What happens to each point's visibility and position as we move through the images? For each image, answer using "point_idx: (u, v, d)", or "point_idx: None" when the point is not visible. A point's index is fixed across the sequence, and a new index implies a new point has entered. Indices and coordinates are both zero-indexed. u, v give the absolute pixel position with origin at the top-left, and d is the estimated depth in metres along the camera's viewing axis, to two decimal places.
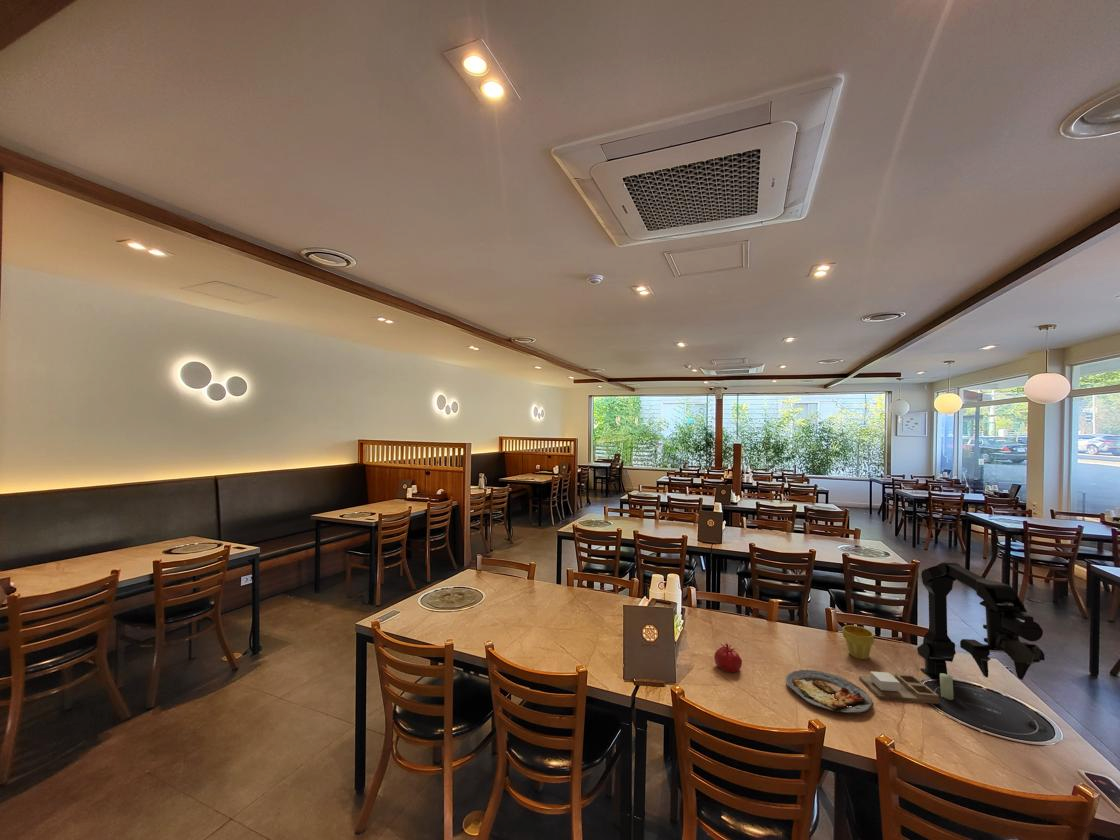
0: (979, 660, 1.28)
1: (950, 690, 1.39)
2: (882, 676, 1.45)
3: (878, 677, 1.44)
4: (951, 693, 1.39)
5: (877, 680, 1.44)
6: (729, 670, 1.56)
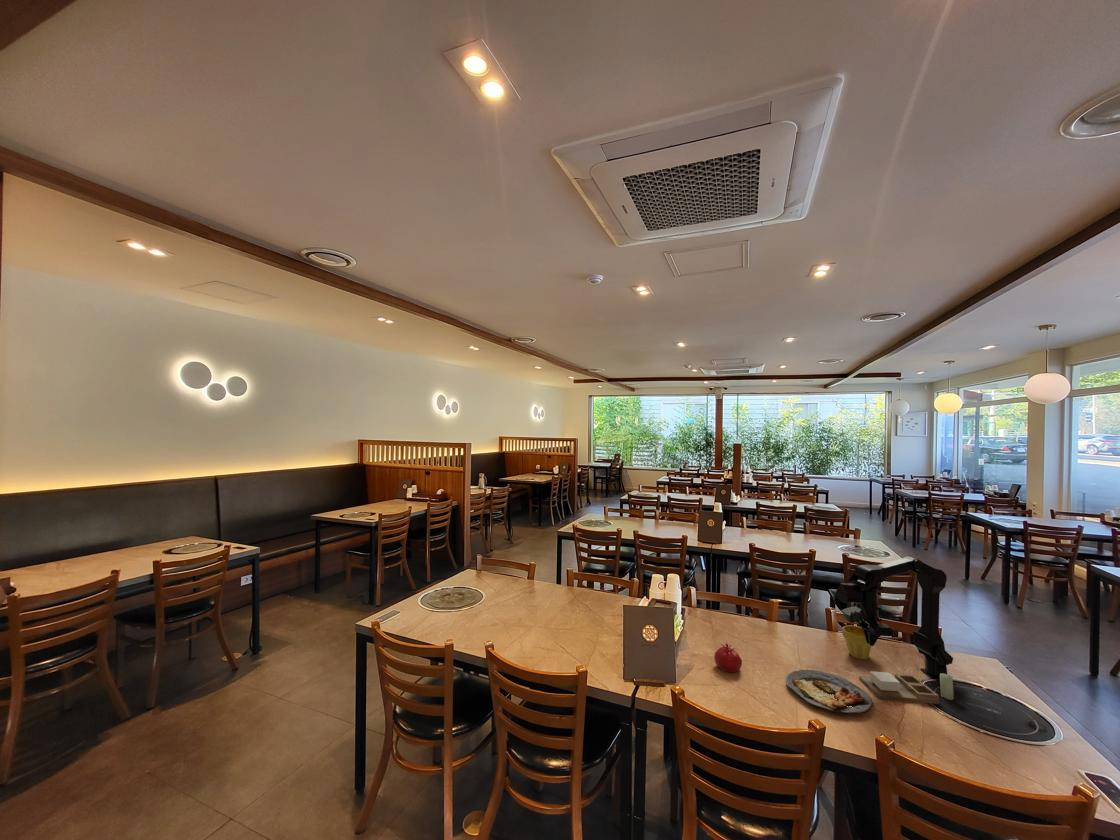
0: None
1: (950, 690, 1.39)
2: (882, 676, 1.45)
3: (878, 677, 1.44)
4: (951, 693, 1.39)
5: (877, 680, 1.44)
6: (729, 670, 1.56)
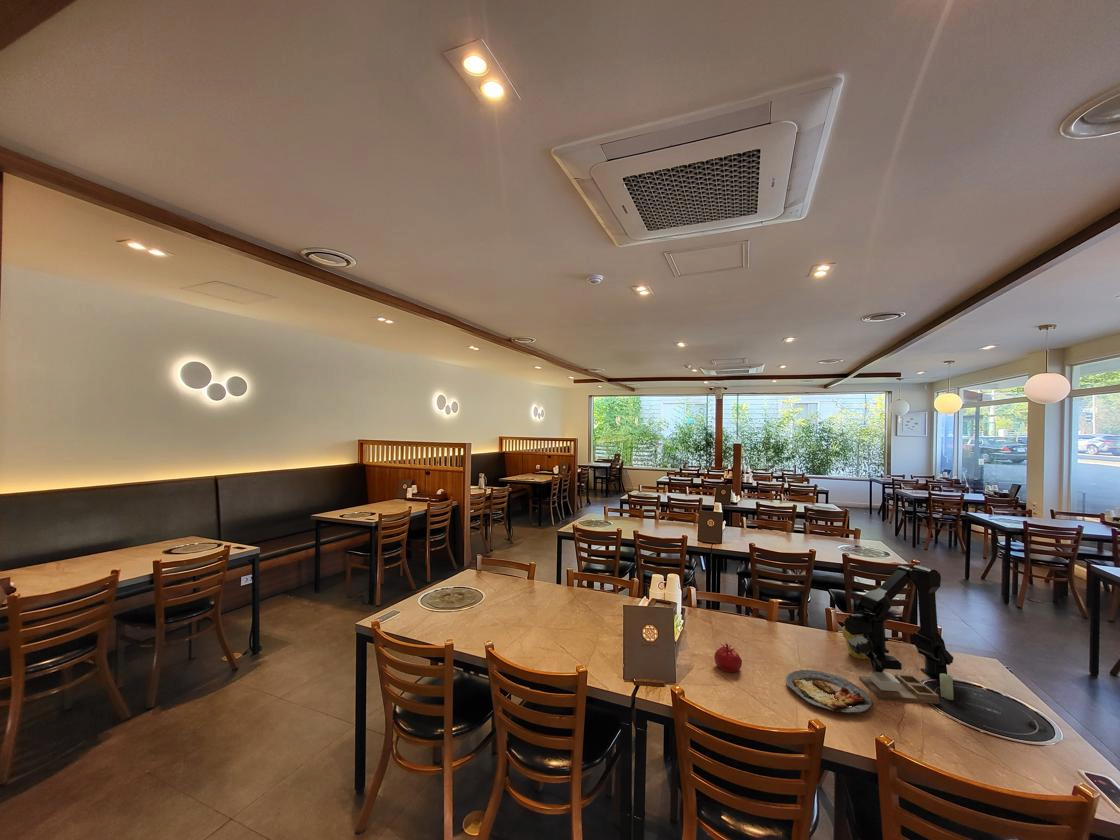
0: None
1: (950, 690, 1.39)
2: (882, 676, 1.45)
3: (878, 677, 1.44)
4: (951, 693, 1.39)
5: (877, 680, 1.44)
6: (729, 670, 1.56)
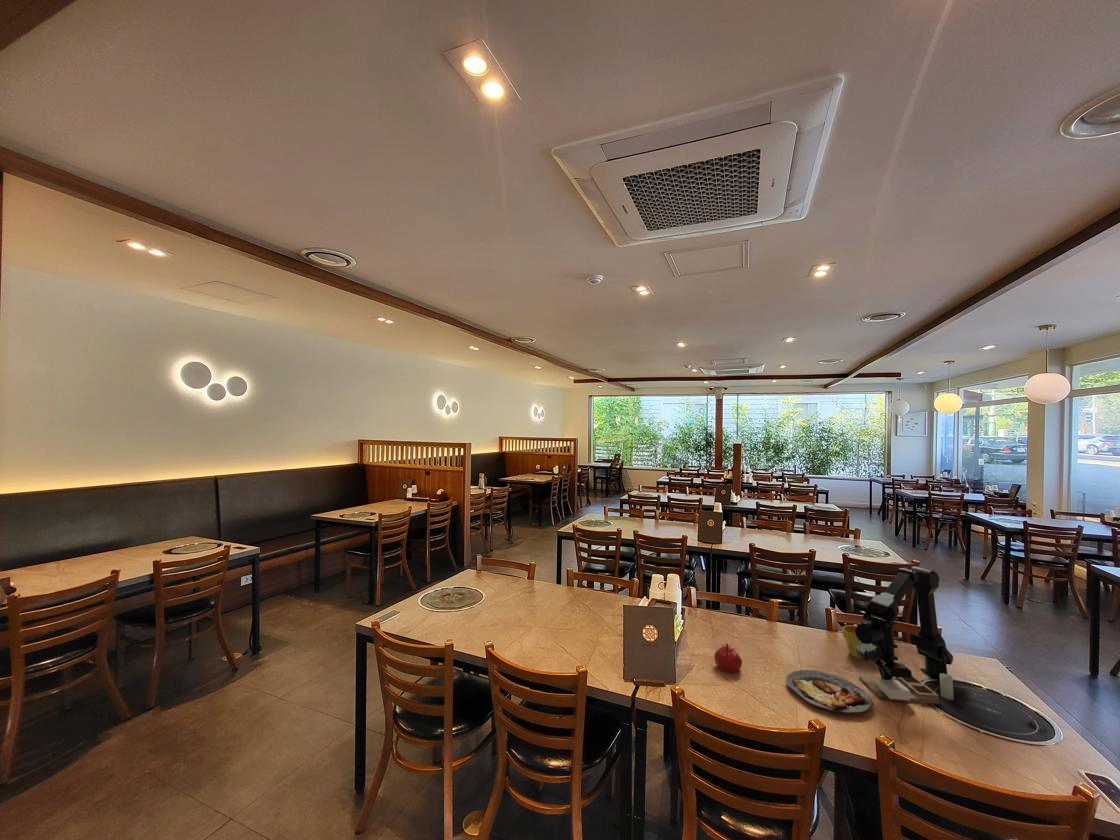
0: None
1: (950, 690, 1.39)
2: (891, 684, 1.40)
3: (887, 685, 1.39)
4: (951, 693, 1.39)
5: (886, 688, 1.39)
6: (729, 670, 1.56)
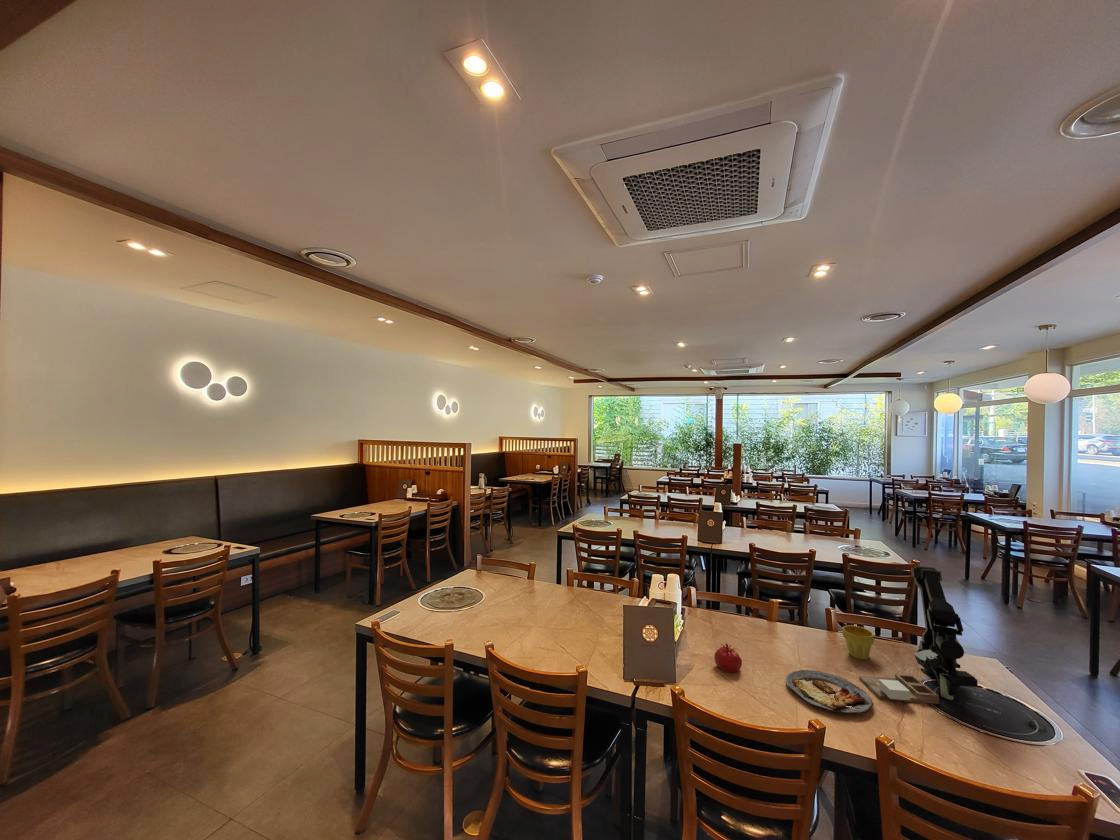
0: None
1: None
2: (891, 684, 1.40)
3: (887, 685, 1.39)
4: None
5: (886, 688, 1.39)
6: (729, 670, 1.56)
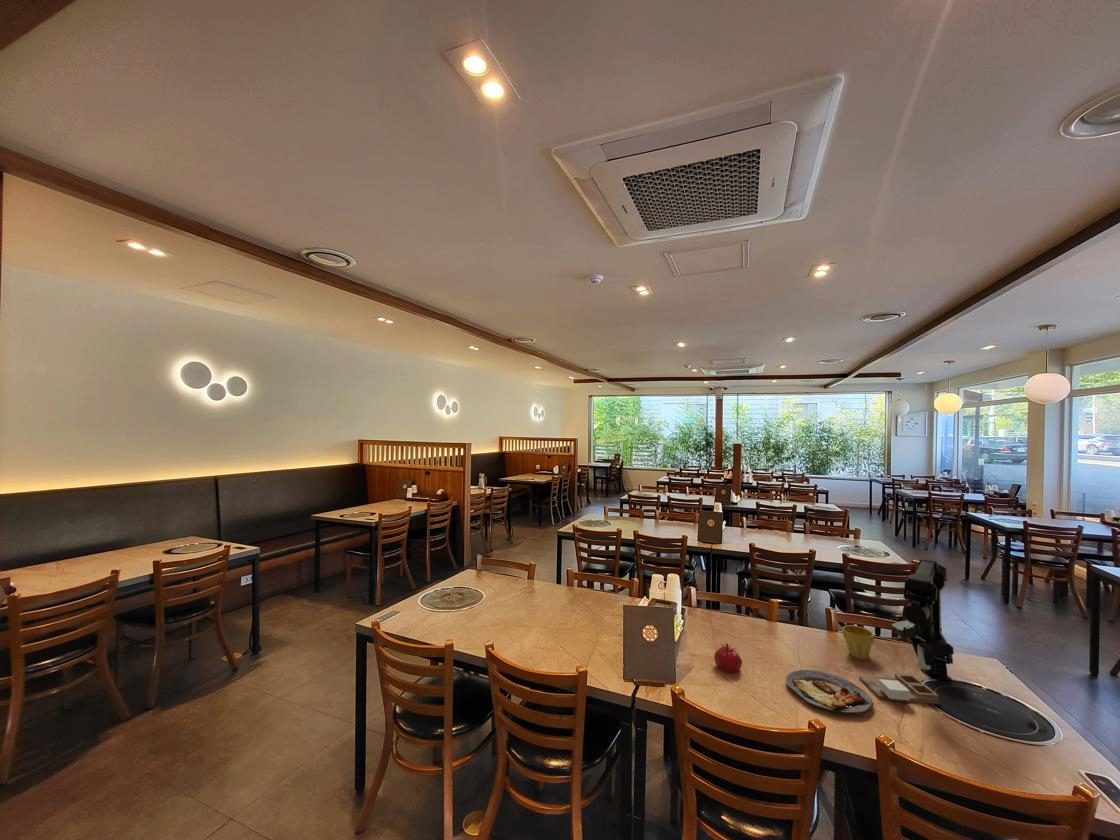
0: None
1: None
2: (891, 684, 1.40)
3: (887, 685, 1.39)
4: None
5: (886, 688, 1.39)
6: (729, 670, 1.56)
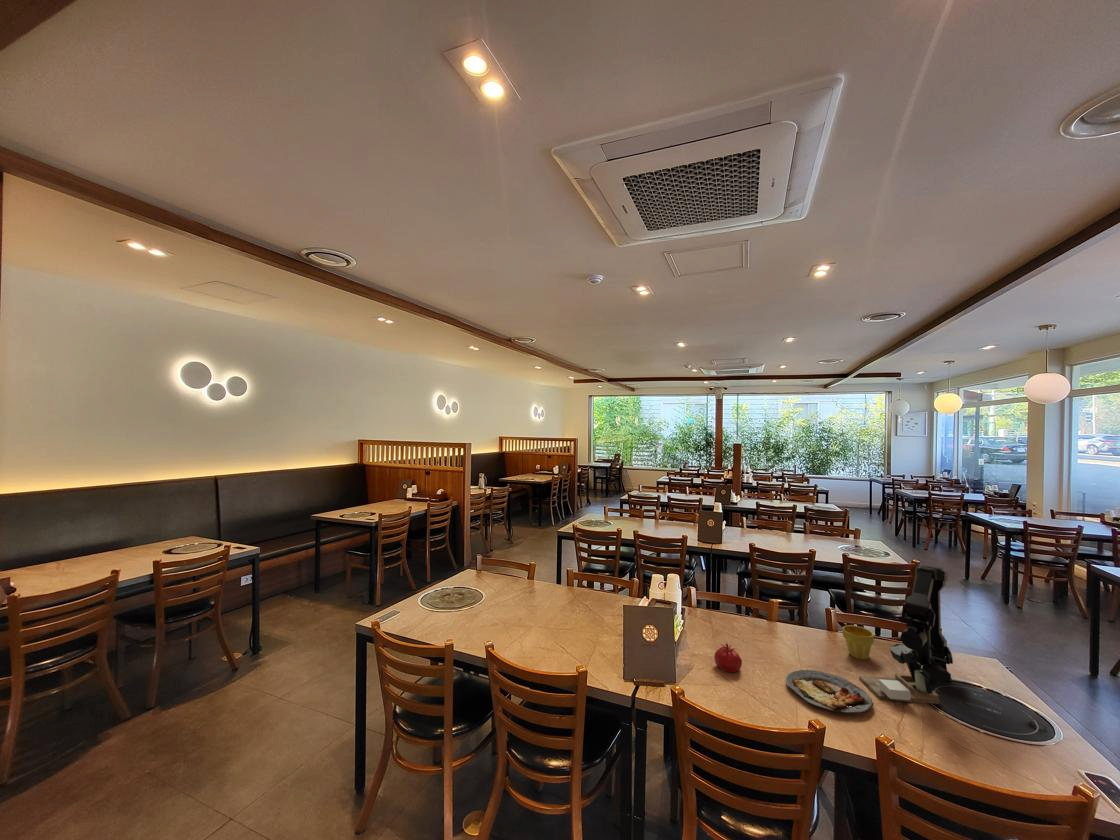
0: None
1: (925, 687, 1.39)
2: (891, 684, 1.40)
3: (887, 685, 1.39)
4: None
5: (886, 688, 1.39)
6: (729, 670, 1.56)
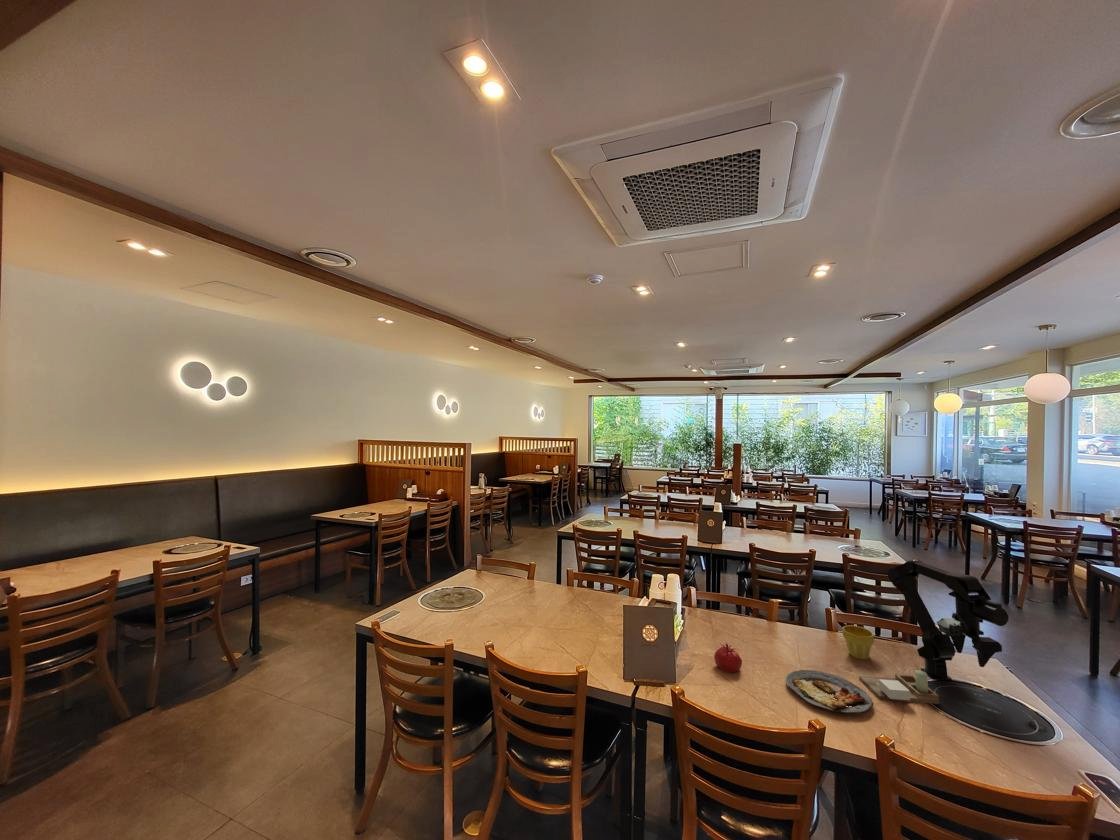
0: None
1: (925, 687, 1.39)
2: (891, 684, 1.40)
3: (887, 685, 1.39)
4: (926, 690, 1.39)
5: (886, 688, 1.39)
6: (729, 670, 1.56)
